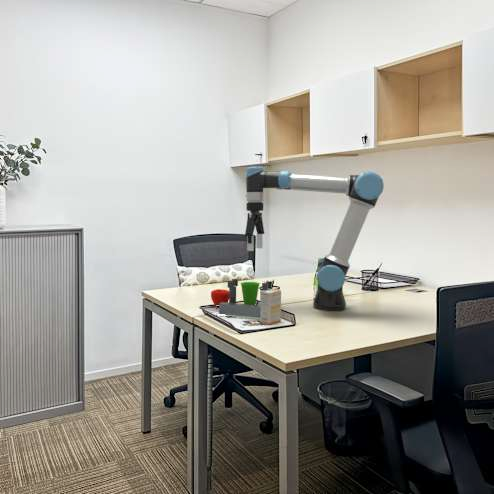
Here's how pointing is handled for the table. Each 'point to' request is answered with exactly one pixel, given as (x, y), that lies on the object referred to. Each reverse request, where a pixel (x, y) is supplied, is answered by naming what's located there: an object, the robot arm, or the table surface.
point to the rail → (240, 309)
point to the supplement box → (270, 306)
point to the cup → (250, 292)
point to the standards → (234, 283)
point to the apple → (220, 296)
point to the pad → (245, 317)
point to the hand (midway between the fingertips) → (255, 249)
